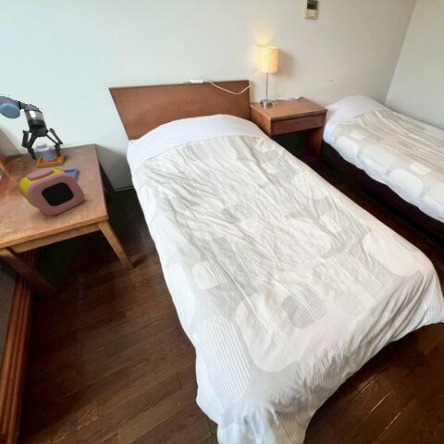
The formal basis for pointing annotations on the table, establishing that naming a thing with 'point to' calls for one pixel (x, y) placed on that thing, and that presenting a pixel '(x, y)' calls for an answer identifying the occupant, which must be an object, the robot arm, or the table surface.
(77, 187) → the alarm clock
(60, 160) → the amber tray
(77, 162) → the table surface
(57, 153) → the robot arm
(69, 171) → the blue tray
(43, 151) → the pill bottle
